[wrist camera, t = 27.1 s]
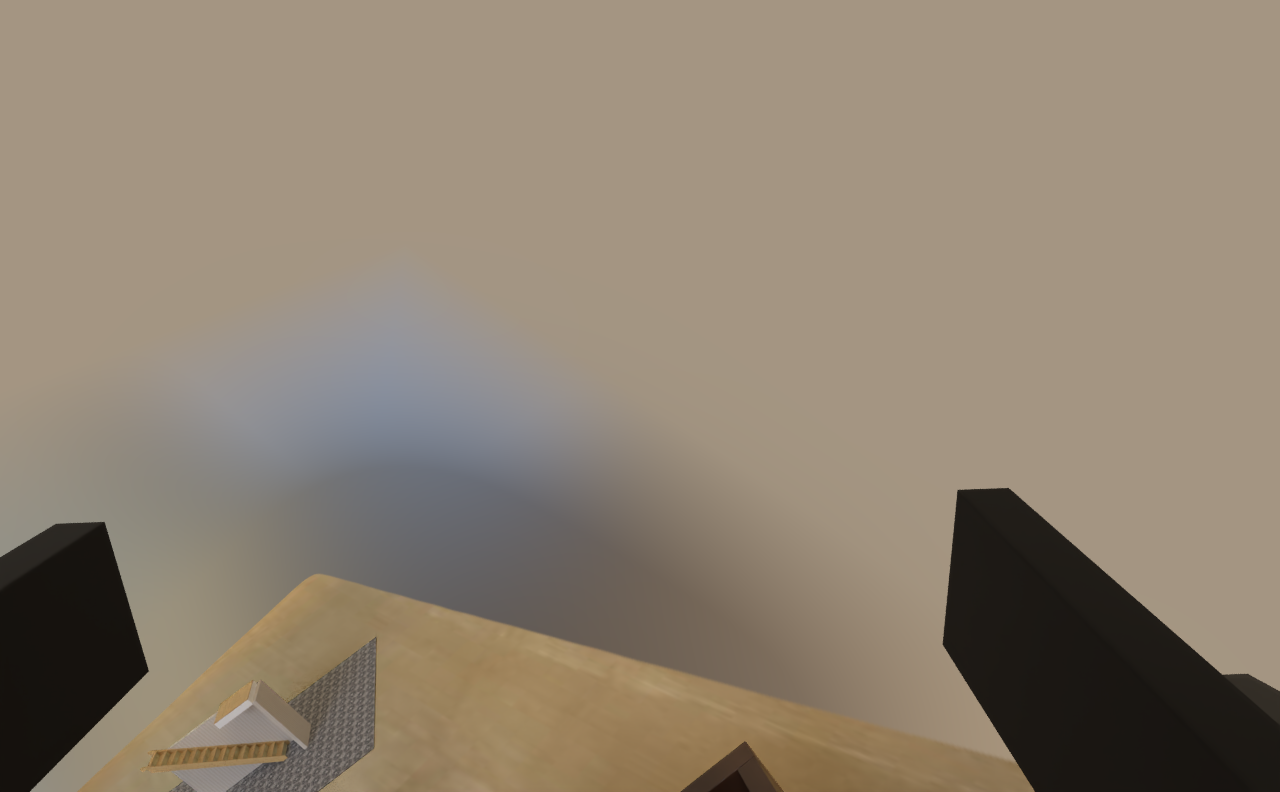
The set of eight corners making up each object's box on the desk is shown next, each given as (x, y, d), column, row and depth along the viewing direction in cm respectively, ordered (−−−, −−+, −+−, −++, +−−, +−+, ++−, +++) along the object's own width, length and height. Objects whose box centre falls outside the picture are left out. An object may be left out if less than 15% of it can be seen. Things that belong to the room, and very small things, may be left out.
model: (307, 747, 65) (247, 693, 62) (203, 826, 64) (137, 775, 61) (310, 724, 68) (253, 672, 65) (211, 799, 67) (148, 750, 64)
